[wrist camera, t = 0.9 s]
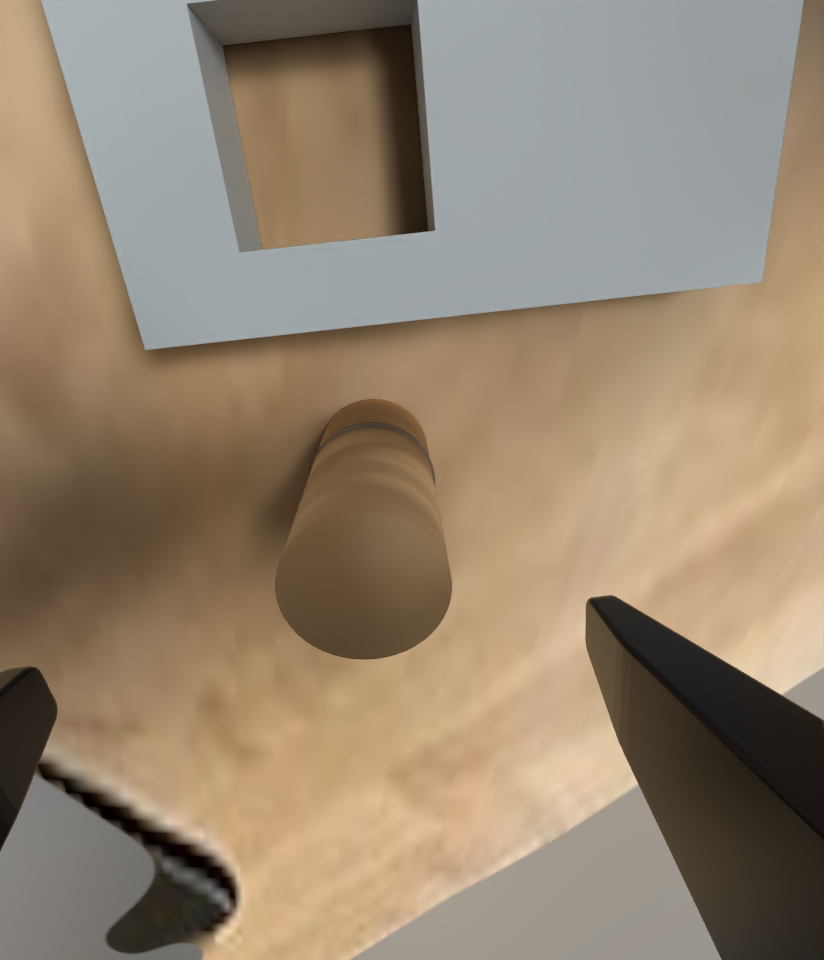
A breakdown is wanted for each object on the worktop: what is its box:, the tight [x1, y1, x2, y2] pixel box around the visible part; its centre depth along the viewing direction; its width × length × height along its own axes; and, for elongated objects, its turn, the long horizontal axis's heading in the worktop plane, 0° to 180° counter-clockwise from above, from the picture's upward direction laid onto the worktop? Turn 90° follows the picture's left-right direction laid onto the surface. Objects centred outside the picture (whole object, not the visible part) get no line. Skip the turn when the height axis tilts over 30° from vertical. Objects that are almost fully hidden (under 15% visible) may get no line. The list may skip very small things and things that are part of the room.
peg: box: [275, 399, 452, 659], centre depth 17 cm, size 4×4×9 cm
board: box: [41, 0, 804, 350], centre depth 15 cm, size 18×10×3 cm, turn 96°
